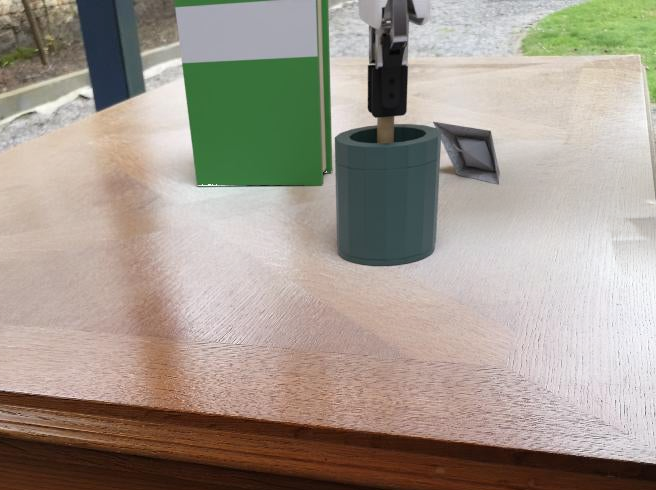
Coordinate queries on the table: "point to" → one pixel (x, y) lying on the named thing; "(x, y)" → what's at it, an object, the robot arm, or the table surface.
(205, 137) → the hardback book
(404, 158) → the cup
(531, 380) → the table surface
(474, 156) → the paper boat
